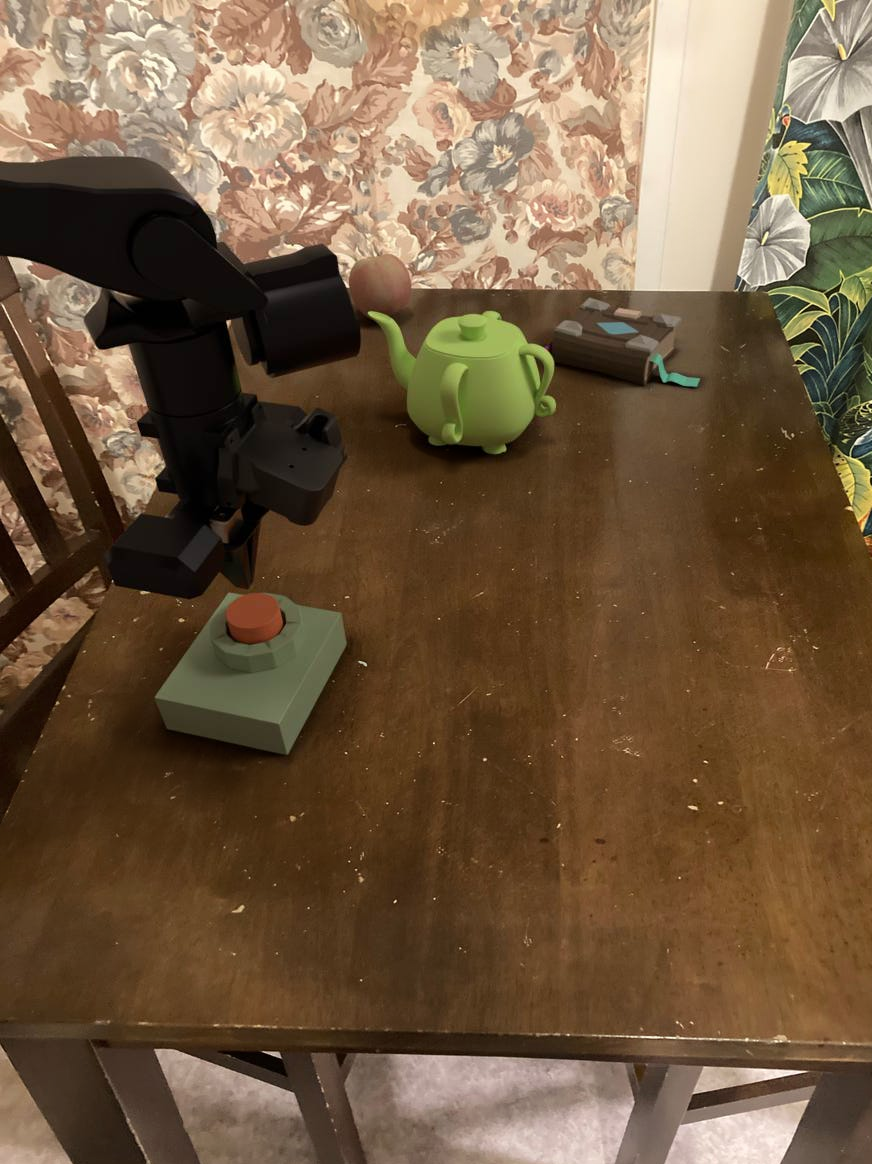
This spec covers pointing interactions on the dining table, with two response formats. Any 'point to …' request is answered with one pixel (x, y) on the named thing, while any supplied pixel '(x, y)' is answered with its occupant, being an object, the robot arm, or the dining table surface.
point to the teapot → (471, 380)
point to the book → (617, 343)
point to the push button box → (253, 678)
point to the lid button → (254, 618)
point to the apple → (380, 285)
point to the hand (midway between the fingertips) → (244, 585)
